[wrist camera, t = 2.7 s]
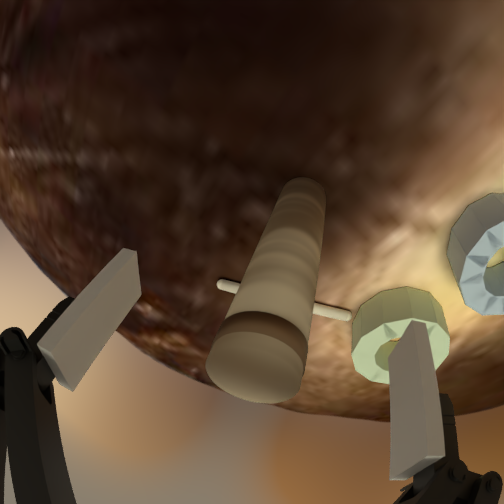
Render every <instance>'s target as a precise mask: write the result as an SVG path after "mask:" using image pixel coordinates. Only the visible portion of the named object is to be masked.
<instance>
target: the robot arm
mask: <svg viewBox="0 0 504 504" xmlns="http://www.w3.org/2000/svg"><path fill="white" fill-rule="evenodd" d="M140 296H141V287H140V279H139V270H138V261H137V252H136V251H132V250H129V249H125V248H123V249H122V250H121V251H120V252H119V253H118V254H117V255H116V256H115V257H114V258H113V259H112V260H111V261H110V262H109V263H108V264H107V265H106V266H105V267H104V269H103V270H102V271H101V272H100V273H99V274H98V275H97V276H96V277H95V278H94V279H93V280H92V281H91V282H90V283H89V285H88V286H87V287H86V288H85V289H84V290H83V291H82V292H81V293H80V294H79V295H78V297H77V298H76V299H74V298H72V297H68V298H66V299H64V300H62V301H61V302H60V303H58V305H57V306H56V307H55V308H54V309H53V311H52V312H50V313H49V314H48V316H47V318H45V319H44V320H43V322H41V324H40V325H39V326H38V327H37V328H36V329H35V331H34V332H33V333H32V334H31V335H30V336H29V338H28V339H27V338H26V336H25V334H24V332H23V331H22V330H21V329H20V328H17V327H11V328H8V329H6V330H4V331H3V332H2V333H1V335H0V504H4V476H5V462H6V451H7V447H8V456H9V463H10V470H11V477H12V483H13V488H14V493H15V498H16V502H17V504H76V500H75V497H74V493H73V490H72V486H71V483H70V478H69V475H68V471H67V466H66V462H65V457H64V452H63V447H62V443H61V437H60V431H59V425H58V419H57V412H56V404H55V397H54V387H53V383H52V381H53V379H54V378H55V377H56V379H57V381H58V382H59V384H60V385H62V386H64V387H65V388H67V389H69V390H71V391H74V390H75V388H76V386H77V385H78V384H79V382H80V381H81V379H82V377H83V376H84V375H85V373H86V371H87V370H88V369H89V367H90V366H91V364H92V363H93V361H94V360H95V358H96V357H97V356H98V354H99V353H100V351H101V350H102V348H103V347H104V346H105V344H106V343H107V341H108V340H109V338H110V337H111V336H112V334H113V333H114V331H115V330H116V329H117V327H118V326H119V324H120V323H121V322H122V320H123V319H124V318H125V316H126V315H127V313H128V312H129V311H130V309H131V308H132V307H133V305H134V304H135V303H136V301H137V300H138V299H139V297H140ZM388 366H389V384H390V413H391V449H390V450H391V451H390V477H389V480H407V479H408V478H410V477H412V476H413V483H411V484H409V485H407V486H405V487H403V488H402V489H401V490H400V491H404V490H405V491H404V492H403V493H402V495H401V496H400V497H399V498H398V499H397V500H396V501H395V502H394V503H393V504H498V501H499V498H500V494H501V491H502V485H503V483H502V479H501V477H500V475H499V474H498V473H497V472H494V471H490V472H487V473H486V474H484V475H480V474H477V473H474V472H471V471H468V469H467V466H466V465H465V463H464V462H463V461H461V460H460V459H459V453H458V442H457V433H456V426H455V417H454V410H453V404H452V402H451V400H450V398H449V396H448V394H441V393H439V391H438V384H437V378H436V372H435V367H434V361H433V356H432V351H431V346H430V341H429V336H428V332H427V327H426V323H423V322H419V321H414V320H412V321H411V322H410V324H409V325H408V327H407V329H406V330H405V332H404V334H403V335H402V337H401V338H400V340H399V341H398V343H397V344H396V346H395V348H394V349H393V351H392V352H391V354H390V355H389V357H388Z"/></svg>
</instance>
